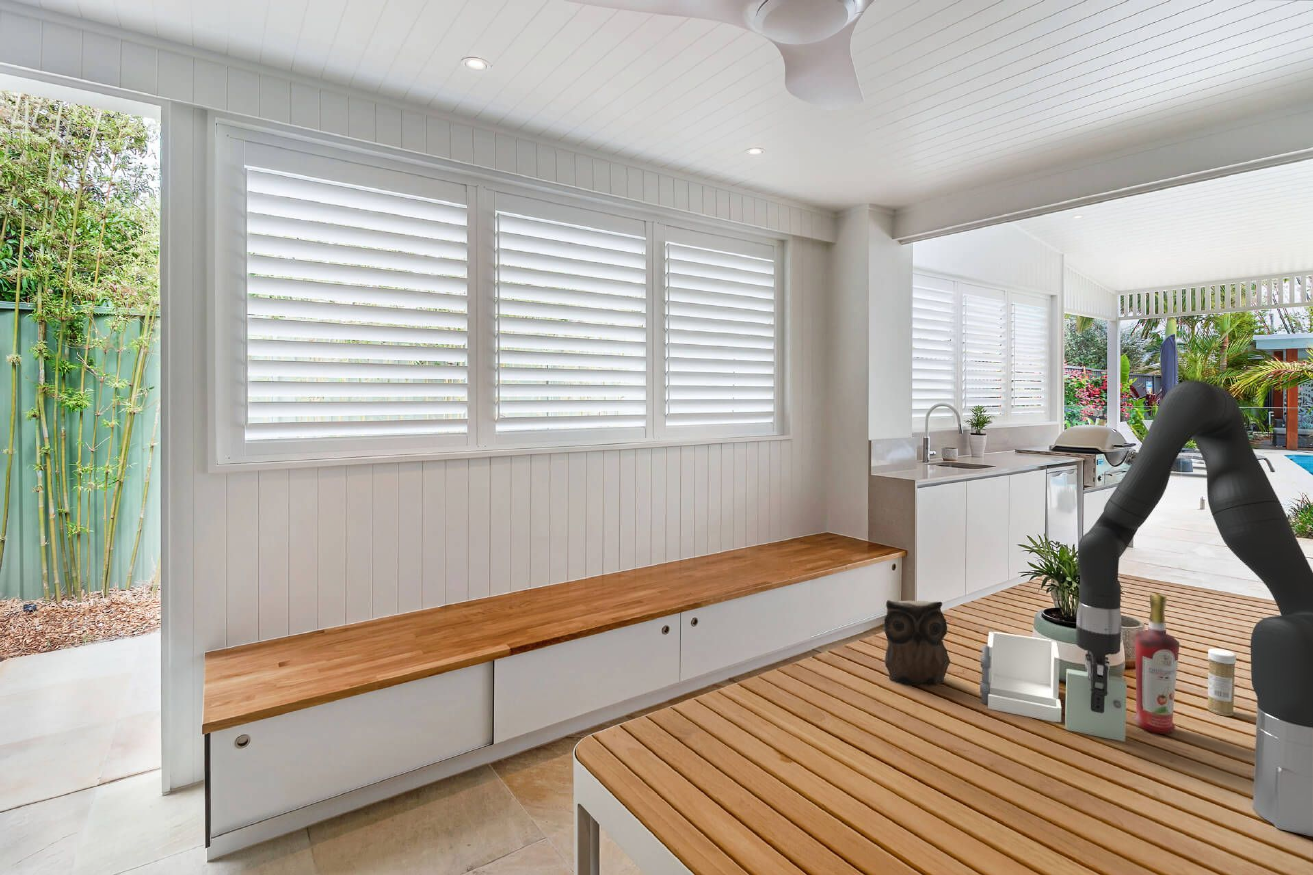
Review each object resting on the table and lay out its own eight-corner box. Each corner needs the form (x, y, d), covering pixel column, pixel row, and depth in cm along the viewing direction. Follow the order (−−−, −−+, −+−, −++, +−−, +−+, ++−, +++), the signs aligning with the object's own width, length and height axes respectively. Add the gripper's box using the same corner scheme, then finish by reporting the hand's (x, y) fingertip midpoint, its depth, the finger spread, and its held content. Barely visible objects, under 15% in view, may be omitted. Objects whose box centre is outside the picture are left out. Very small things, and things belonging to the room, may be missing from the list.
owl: (952, 682, 157) (953, 601, 156) (918, 694, 150) (919, 610, 149) (907, 665, 167) (908, 588, 166) (874, 675, 161) (875, 596, 160)
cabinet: (1061, 723, 136) (1062, 662, 136) (979, 706, 144) (980, 649, 143) (1056, 691, 152) (1057, 636, 151) (982, 677, 159) (983, 625, 159)
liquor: (1165, 722, 137) (1170, 591, 135) (1183, 739, 130) (1188, 602, 128) (1125, 717, 139) (1129, 589, 137) (1141, 734, 132) (1145, 599, 130)
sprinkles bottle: (1237, 713, 141) (1239, 652, 140) (1229, 718, 138) (1232, 657, 137) (1210, 705, 144) (1212, 646, 144) (1202, 710, 142) (1205, 650, 141)
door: (1125, 743, 128) (1127, 684, 127) (1066, 731, 133) (1067, 674, 132) (1123, 736, 131) (1125, 678, 130) (1065, 724, 136) (1066, 668, 135)
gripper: (1125, 640, 124) (1121, 722, 125) (1116, 618, 136) (1113, 693, 137) (1078, 633, 127) (1075, 713, 128) (1074, 612, 140) (1071, 685, 141)
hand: (1095, 702), depth 133 cm, fingers open, 8 cm apart
